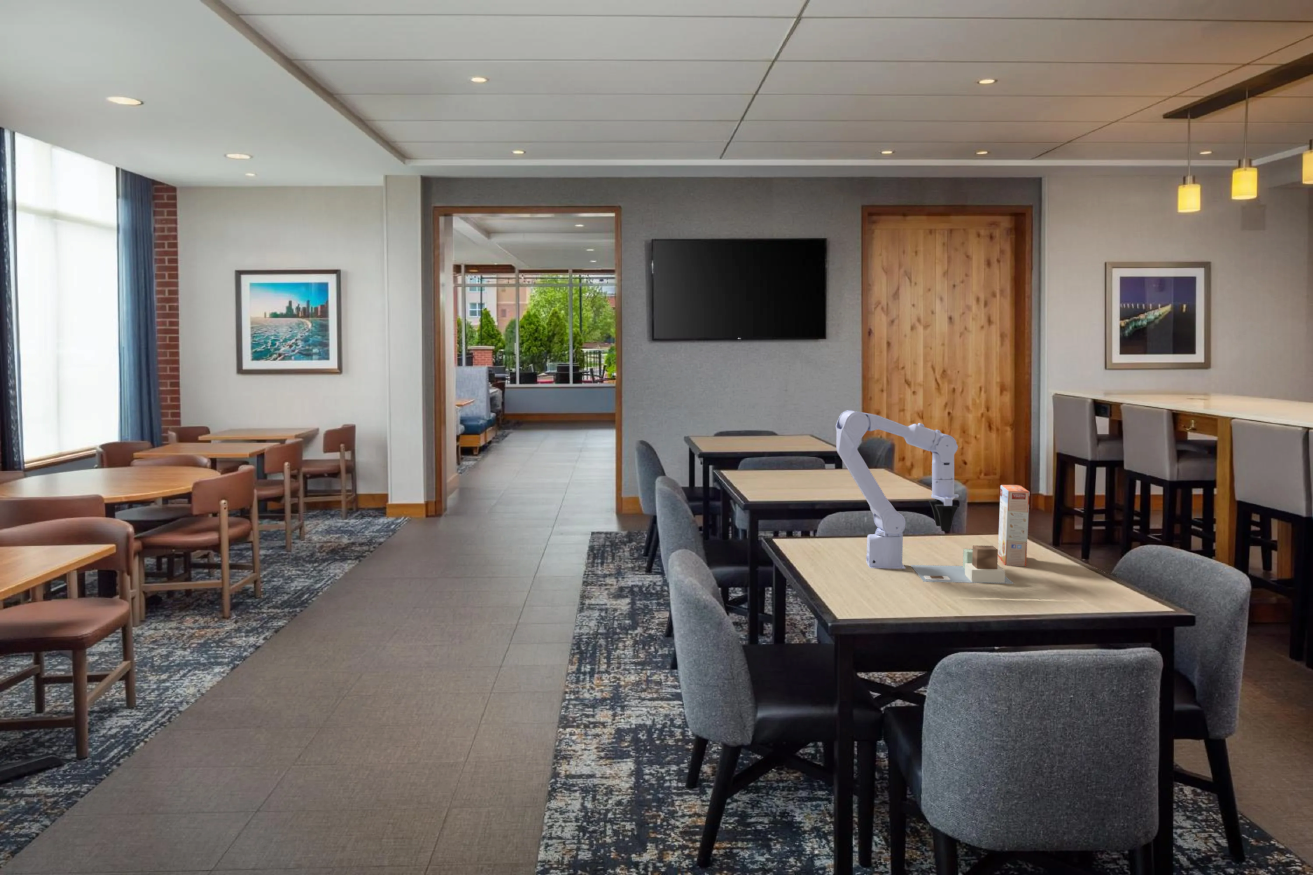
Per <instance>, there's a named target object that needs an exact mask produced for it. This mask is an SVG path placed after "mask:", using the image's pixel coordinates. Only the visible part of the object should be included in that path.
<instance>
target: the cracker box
mask: <svg viewBox="0 0 1313 875" xmlns="http://www.w3.org/2000/svg"><path fill="white" fill-rule="evenodd" d="M999 487H1000V490H999V492H1000V493H999V517H998V518H999V519H998V539H997V540H998V542H997V544H998V545H997V549H998V559H999V560H1000V561H1001V562H1002V563H1003V565H1004V566H1012V567H1016V566H1017V567H1027V560H1028V558H1027V556H1028V555H1027V554H1028V537H1029V536H1028V534H1029V512H1030V509H1029V508H1030V491H1029V490H1027V489H1026V488H1025V487H1023V486H1022V485H1019V484H1001V485H1000V486H999Z"/></svg>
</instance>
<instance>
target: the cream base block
mask: <svg viewBox="0 0 1313 875" xmlns="http://www.w3.org/2000/svg"><path fill="white" fill-rule="evenodd" d="M965 575H966V576H967V577H968V578H969V579H970V580H971V581H972V582H1005V576H1006V570H1005V569H1003V568H1002V567H1001V566H1000V565H999V563H997V569H977V568H975V567H974V566H973V565H972V563H965Z"/></svg>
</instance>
